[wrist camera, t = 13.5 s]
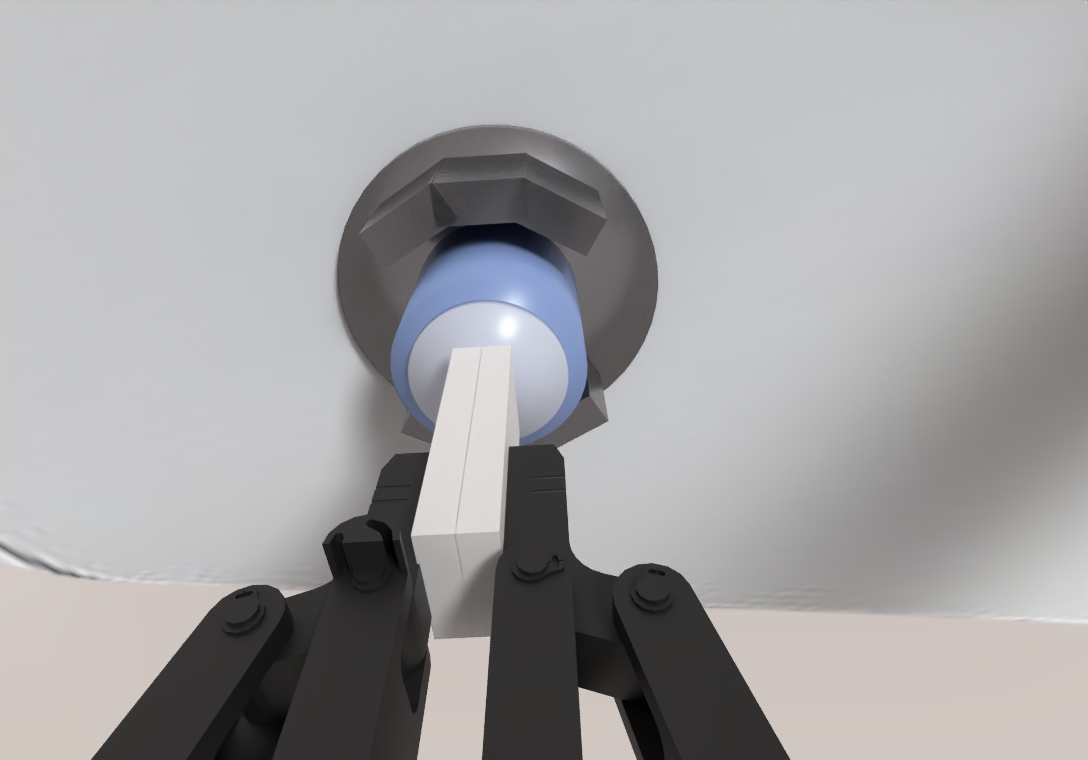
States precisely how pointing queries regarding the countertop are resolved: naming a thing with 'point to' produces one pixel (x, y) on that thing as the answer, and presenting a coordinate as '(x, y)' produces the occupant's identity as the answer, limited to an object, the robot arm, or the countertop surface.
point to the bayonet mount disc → (503, 197)
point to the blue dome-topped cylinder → (495, 323)
